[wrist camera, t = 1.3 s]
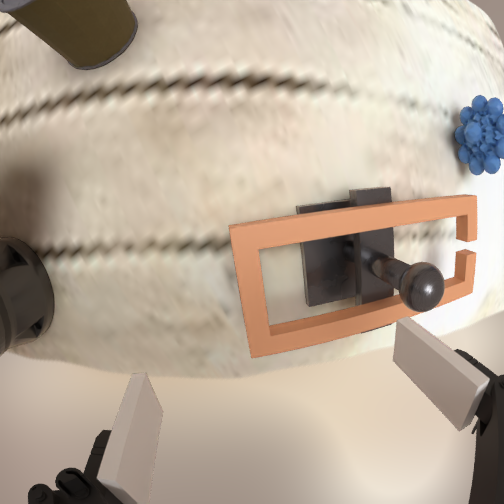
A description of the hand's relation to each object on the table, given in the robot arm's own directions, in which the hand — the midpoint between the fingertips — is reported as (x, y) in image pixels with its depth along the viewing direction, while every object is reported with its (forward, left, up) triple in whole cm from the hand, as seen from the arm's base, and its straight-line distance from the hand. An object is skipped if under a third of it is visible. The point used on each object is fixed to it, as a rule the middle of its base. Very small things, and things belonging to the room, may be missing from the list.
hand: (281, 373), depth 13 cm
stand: (+13, 0, -21) cm, 24 cm away
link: (+13, 0, -13) cm, 18 cm away
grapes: (+34, +14, -21) cm, 42 cm away
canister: (-14, +33, -21) cm, 41 cm away
